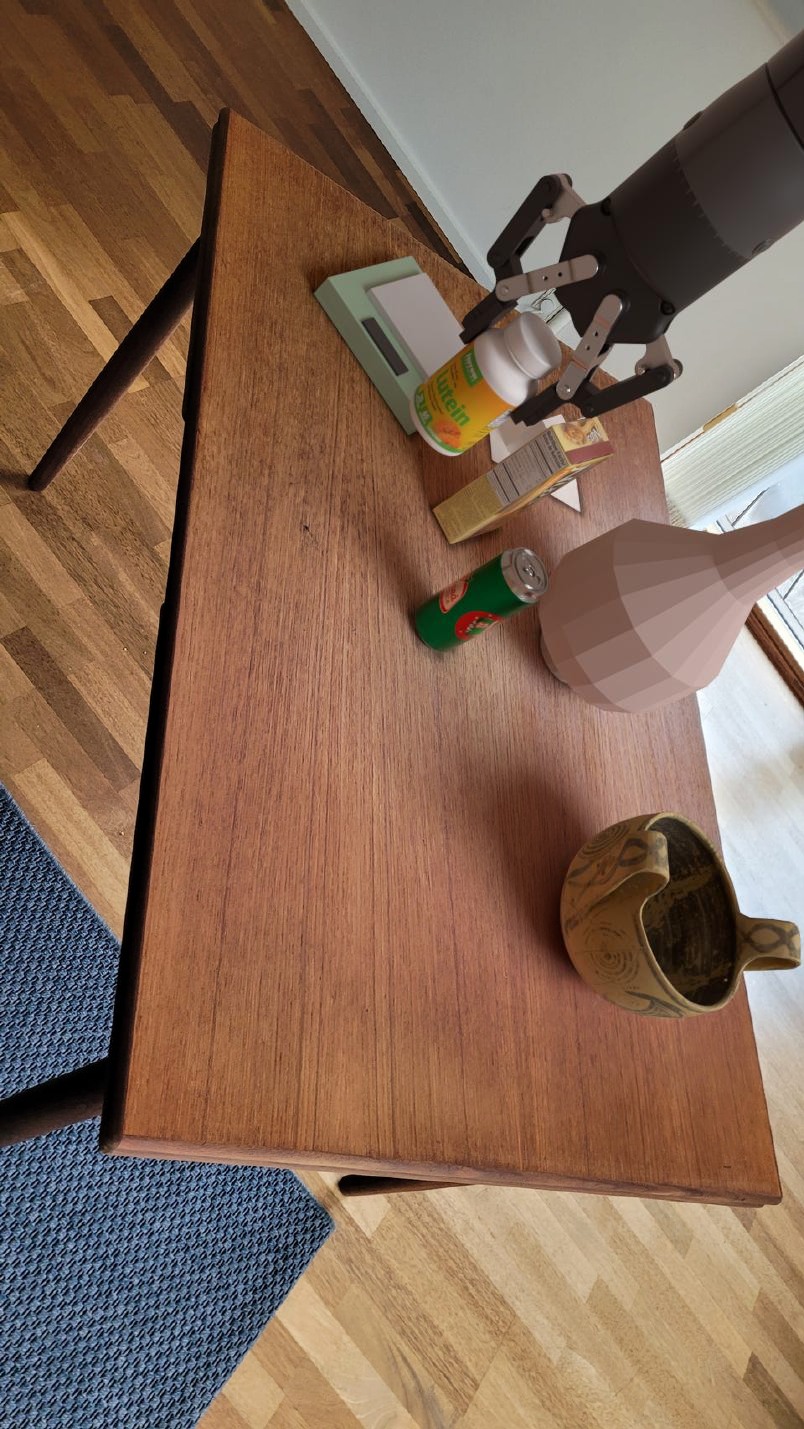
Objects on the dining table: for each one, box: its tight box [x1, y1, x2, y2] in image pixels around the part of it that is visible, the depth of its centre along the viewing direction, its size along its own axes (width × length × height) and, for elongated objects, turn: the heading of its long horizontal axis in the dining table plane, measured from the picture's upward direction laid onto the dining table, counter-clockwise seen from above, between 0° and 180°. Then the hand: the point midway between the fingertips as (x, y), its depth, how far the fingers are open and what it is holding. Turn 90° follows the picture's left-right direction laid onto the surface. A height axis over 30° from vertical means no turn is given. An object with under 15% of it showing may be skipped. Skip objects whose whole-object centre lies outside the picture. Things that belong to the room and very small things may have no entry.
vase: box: [538, 502, 804, 715], centre depth 84 cm, size 18×18×30 cm
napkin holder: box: [489, 413, 585, 513], centre depth 103 cm, size 15×11×6 cm
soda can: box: [414, 546, 549, 653], centre depth 78 cm, size 5×5×12 cm
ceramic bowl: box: [559, 810, 802, 1020], centre depth 77 cm, size 22×17×15 cm
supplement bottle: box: [410, 310, 563, 457], centre depth 60 cm, size 5×5×10 cm
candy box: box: [432, 416, 615, 545], centre depth 85 cm, size 9×4×15 cm, turn 129°
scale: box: [313, 255, 467, 436], centre depth 93 cm, size 16×16×3 cm
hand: (492, 377), depth 59 cm, fingers closed on supplement bottle, 5 cm apart
